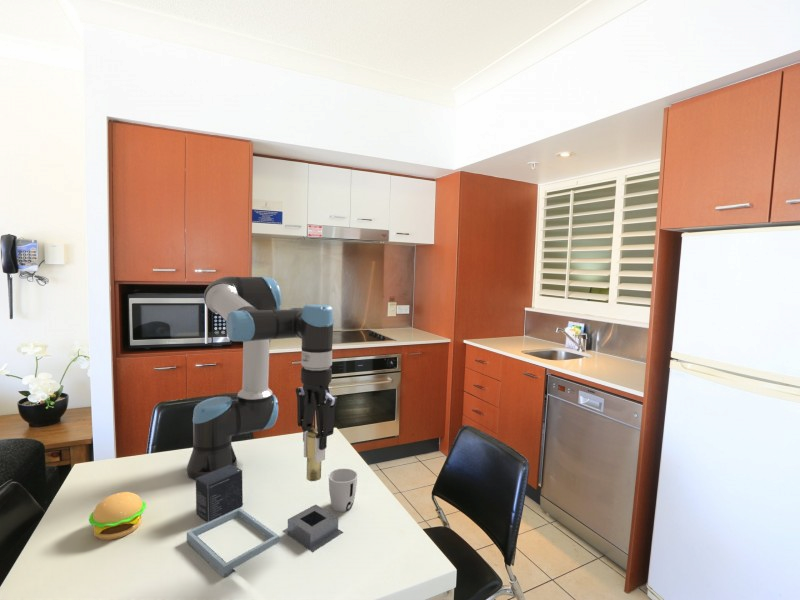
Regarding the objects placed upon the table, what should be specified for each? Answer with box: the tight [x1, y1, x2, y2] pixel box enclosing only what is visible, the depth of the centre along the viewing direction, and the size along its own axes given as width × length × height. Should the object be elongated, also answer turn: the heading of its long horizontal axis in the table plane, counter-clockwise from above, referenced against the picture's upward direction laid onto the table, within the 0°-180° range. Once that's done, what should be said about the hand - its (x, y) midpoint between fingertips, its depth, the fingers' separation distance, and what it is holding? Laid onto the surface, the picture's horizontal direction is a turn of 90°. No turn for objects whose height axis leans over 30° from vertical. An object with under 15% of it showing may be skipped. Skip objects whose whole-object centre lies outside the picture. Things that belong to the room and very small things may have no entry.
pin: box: [306, 428, 322, 482], centre depth 103 cm, size 4×4×12 cm
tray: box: [186, 507, 280, 578], centre depth 100 cm, size 18×14×2 cm
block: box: [282, 503, 344, 553], centre depth 104 cm, size 12×10×4 cm
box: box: [195, 465, 244, 523], centre depth 114 cm, size 11×7×10 cm, turn 145°
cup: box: [328, 468, 358, 513], centre depth 116 cm, size 8×8×10 cm
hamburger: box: [88, 491, 147, 541], centre depth 104 cm, size 12×12×9 cm
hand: (314, 457), depth 103 cm, fingers closed on pin, 4 cm apart
